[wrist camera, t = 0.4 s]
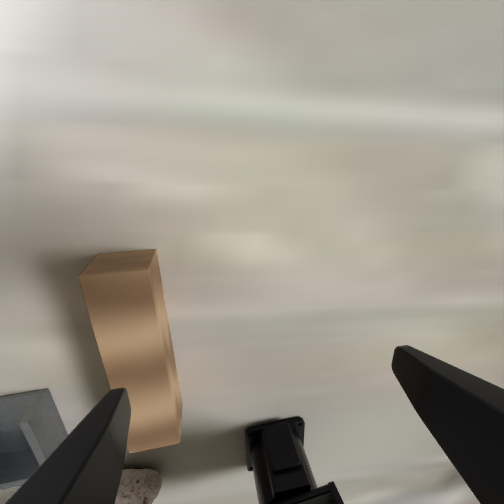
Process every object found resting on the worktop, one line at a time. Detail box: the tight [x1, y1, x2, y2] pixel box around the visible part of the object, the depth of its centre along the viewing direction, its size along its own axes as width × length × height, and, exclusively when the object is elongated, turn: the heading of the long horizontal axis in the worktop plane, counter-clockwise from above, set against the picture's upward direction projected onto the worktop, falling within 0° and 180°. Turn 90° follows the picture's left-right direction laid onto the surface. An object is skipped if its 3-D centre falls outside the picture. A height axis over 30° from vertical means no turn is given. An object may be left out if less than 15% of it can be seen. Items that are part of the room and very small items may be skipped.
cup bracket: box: [0, 389, 68, 490], centre depth 22 cm, size 7×7×3 cm
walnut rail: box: [78, 249, 182, 454], centre depth 21 cm, size 16×4×4 cm, turn 1°
